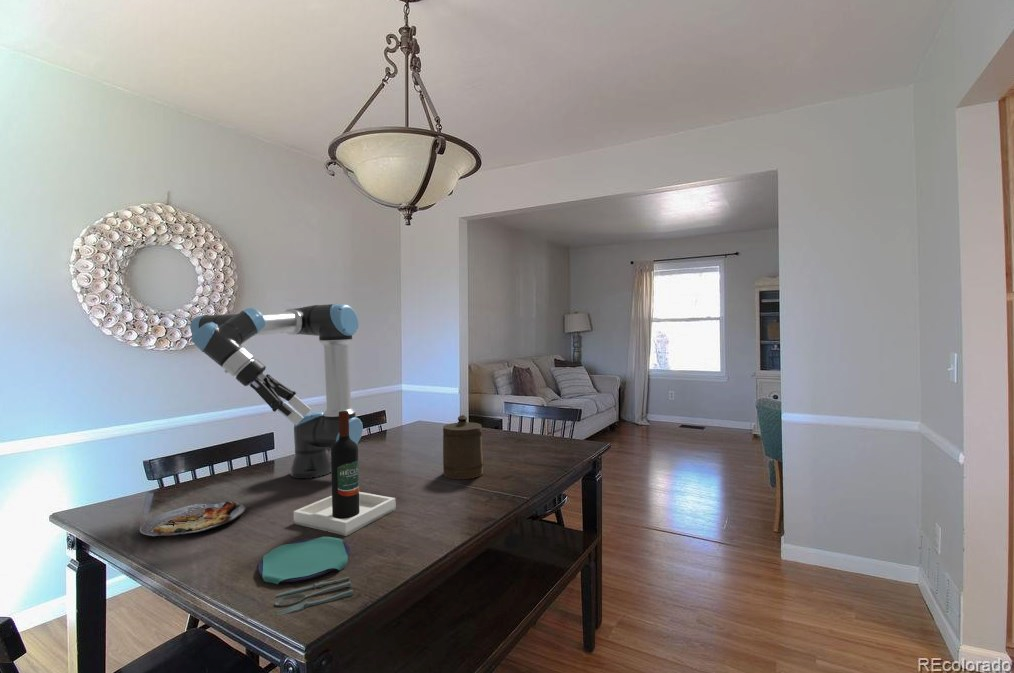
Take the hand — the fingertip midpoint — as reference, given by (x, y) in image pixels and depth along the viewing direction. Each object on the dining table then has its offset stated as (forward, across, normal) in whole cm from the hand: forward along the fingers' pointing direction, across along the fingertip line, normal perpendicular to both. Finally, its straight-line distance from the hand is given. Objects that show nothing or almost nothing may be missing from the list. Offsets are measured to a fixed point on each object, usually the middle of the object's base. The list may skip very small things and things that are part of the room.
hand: (304, 417), depth 137 cm
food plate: (-1, -6, -43) cm, 43 cm away
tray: (+29, +2, -13) cm, 32 cm away
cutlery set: (+25, +34, -18) cm, 46 cm away
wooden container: (+57, -28, +14) cm, 65 cm away
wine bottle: (+28, +2, -13) cm, 31 cm away
